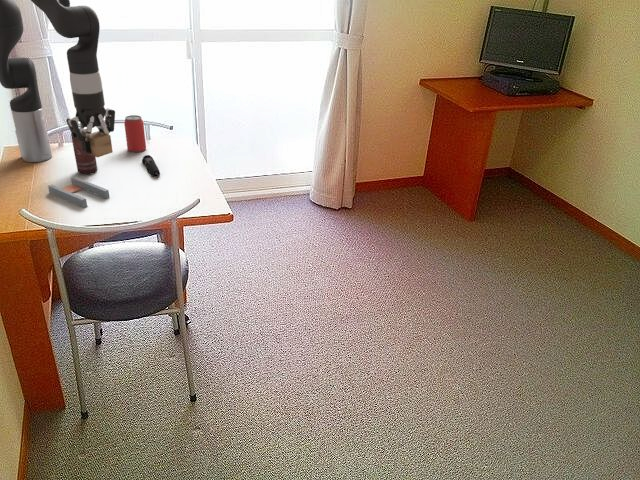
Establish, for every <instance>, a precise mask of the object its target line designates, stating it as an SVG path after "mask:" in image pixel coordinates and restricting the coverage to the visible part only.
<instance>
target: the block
mask: <svg viewBox="0 0 640 480" xmlns="http://www.w3.org/2000/svg"><path fill="white" fill-rule="evenodd" d="M89 141H90V146H91V152H92V153H91V154H89V155H92V156H95V157H96V158H100V157H104V156H105V155H106V156H107V155H109V154H112V153H113V145H112V139H111V135H110V134H109V135H108V134H105V133H102V132H99V130H97V131H94V132H91V133H90V137H89Z"/></svg>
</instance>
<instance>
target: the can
mask: <svg viewBox="0 0 640 480" xmlns="http://www.w3.org/2000/svg"><path fill="white" fill-rule="evenodd" d="M70 133H71V132H70ZM70 137H71V143H72V146H73V153H74V158H75V163H76V169H77V172H78V173H79V174H80V175H83V176H89V175H93V174H95V173H97V172H98V164H97V157H95V156H92V155H89V154H87V153H85V152H84V151H83V149H82V143H81V141H79V140H77V139H74V138H73V136H72V133H71V134H70Z"/></svg>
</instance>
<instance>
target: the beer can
mask: <svg viewBox="0 0 640 480" xmlns="http://www.w3.org/2000/svg"><path fill="white" fill-rule="evenodd" d="M144 124H145V123H144V121H143V118H142V116H140V115H138V114H137V115H136V114H134V115H133V114H132V115H127V116H126V117H125V118H124V125H123V126H124V132H125V140H126V147H127V149H126V150H128V151H130V152H131V153H141V152H144V151H145V150H146V149H147V144H146V143H147V142H146V136H145V125H144Z"/></svg>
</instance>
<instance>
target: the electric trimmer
mask: <svg viewBox="0 0 640 480" xmlns="http://www.w3.org/2000/svg"><path fill="white" fill-rule="evenodd" d="M141 162H142V163H145V165H146V169H147V171H148V172H149V173H150V174H151V176H154V177H155V176H159V175H161V172H160V169H159V167H158V165H157V164H156V162H155V160H154V158H153V157H152V156H151V155H149V154H147V155H144V156H143V157H142V160H141Z"/></svg>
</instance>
